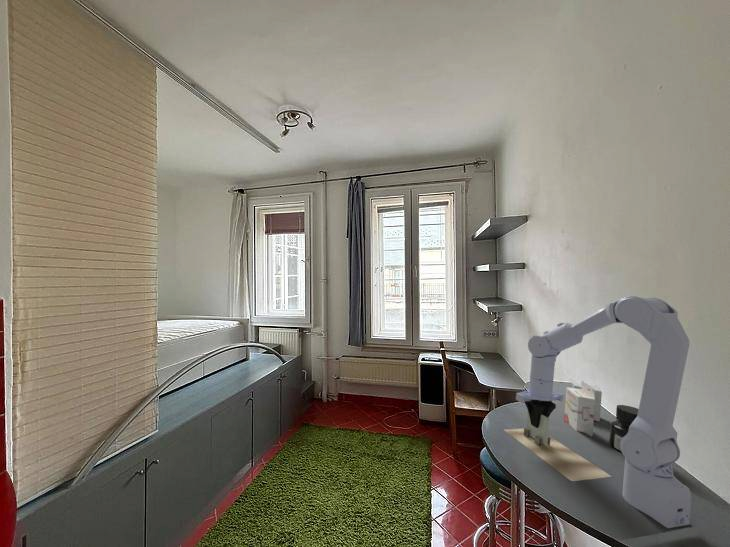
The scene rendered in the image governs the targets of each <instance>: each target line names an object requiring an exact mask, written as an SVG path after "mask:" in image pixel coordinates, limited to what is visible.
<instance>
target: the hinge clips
mask: <svg viewBox="0 0 730 547" xmlns="http://www.w3.org/2000/svg"><path fill="white" fill-rule="evenodd" d="M526 428H527V427H524V428H523V429H524V436H526V437H527V438H529V433H530V431H529V430H528V429H526ZM550 437H551V436H550ZM550 437H548V444H547V445H550V439H551V438H550ZM535 443H536V444H537V445H538V446H541V438H540V437H538V436H535Z"/></svg>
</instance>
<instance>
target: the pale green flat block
mask: <svg viewBox="0 0 730 547" xmlns="http://www.w3.org/2000/svg"><path fill="white" fill-rule="evenodd" d="M526 412H527V415H526V417H527V418H526V427H525V428H526V429H528V430H529V431H530V433H529V435H530V436H531V437H533V438H534V439H535V436H538V437H540V438H541V443H542V444H548V435H549V428H550V418H549V417H546V416H544V415H542V414H541V418H540V424H539V427H538V428H536V427H534V426H533V425H531V421H530V416H529V412H528V411H526Z"/></svg>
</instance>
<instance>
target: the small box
mask: <svg viewBox="0 0 730 547" xmlns="http://www.w3.org/2000/svg"><path fill="white" fill-rule="evenodd" d="M589 385H590V386H591V387H593V388H594V389H595V411H594V421H596V422H600V421H601V409H602V408H601V407H602V397H603V396H602V393H603V392H602V390H601V388H600V387H599V386H596V385H591V384H589ZM572 388H576V389H582V382H581V383H580V382H576V381H573V383H572ZM586 389H587V390H589V391H590V389H589V388H588V387H586Z"/></svg>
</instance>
